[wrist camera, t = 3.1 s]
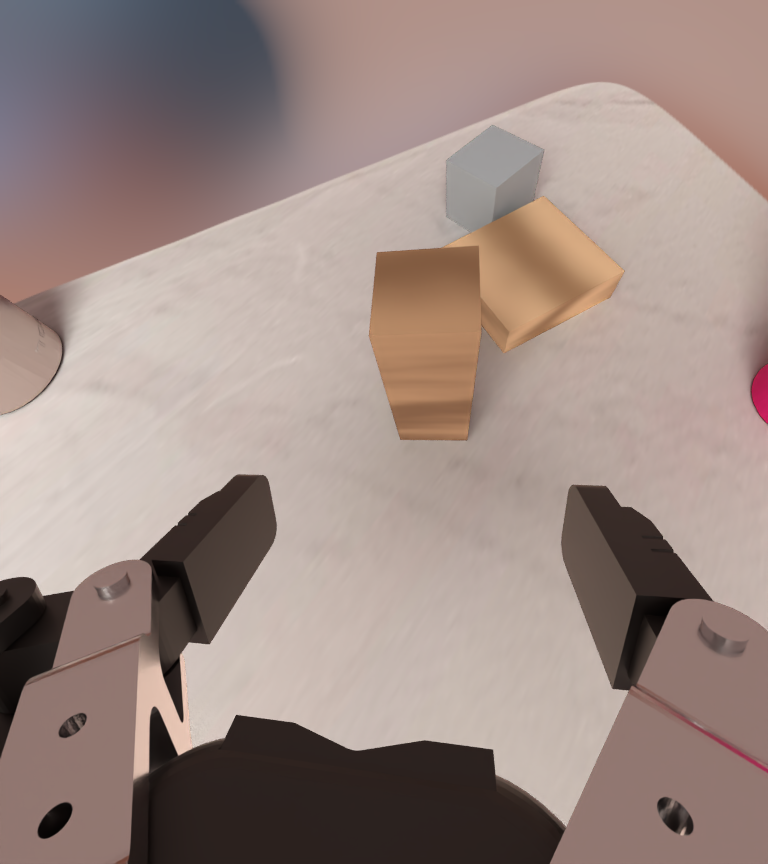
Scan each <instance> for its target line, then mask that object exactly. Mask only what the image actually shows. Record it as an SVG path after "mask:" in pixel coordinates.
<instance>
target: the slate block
mask: <svg viewBox="0 0 768 864" xmlns="http://www.w3.org/2000/svg"><path fill="white" fill-rule="evenodd" d="M543 154H544V149H542V148H540V147H538V146H536V145H533V144H531V143H529V142H527V141H525V140H523V139H521V138H519V137H517V136H515V135H513V134H511V133H509V132H507V131H504V130H502V129H500V128H498V127H496V126H494V125H492V126H490V127H489V128H488V129H486V130H485V131H484V132H482V133H481V134H480V135H478V136H477V137H476V138H475V139H473V140H472V141H471V142H469V143H468V144H467V145H465V146H464V147H463V148H461V149H460V150H459V151H458V152H456V153H455V154H454V155H452V156H451V157H450V158H448V159H447V160H446V217H447V218H449V219H451V220H452V221H454V222H455V223H457V224H458V225H460V226H462V227H463V228H465V229H466V230H468V231H469V232H471V233H472V232H474V231H476V230H478V229H480V228H481V227H483V226H485V225H487V224H489V223H491V222H493V221H495V220H497V219H499V218H501V217H503V216H505V215H507V214H509V213H511V212H513V211H515V210H517V209H519V208H521V207H523V206H525V205H527V204H529V203H531V202H533V199H534V195H535V190H536V185H537V181H538V176H539V172H540V167H541V163H542V158H543Z"/></svg>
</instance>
